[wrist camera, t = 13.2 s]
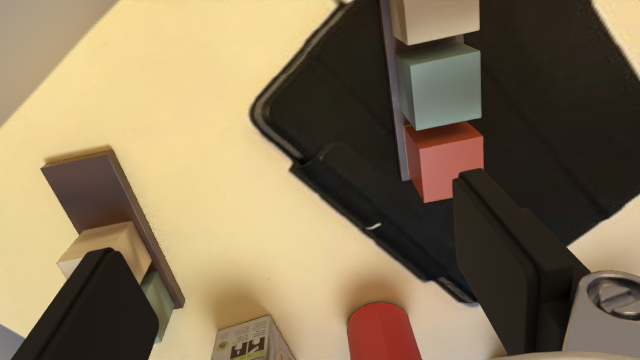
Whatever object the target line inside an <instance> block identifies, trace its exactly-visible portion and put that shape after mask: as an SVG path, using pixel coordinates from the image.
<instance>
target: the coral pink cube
mask: <svg viewBox="0 0 640 360" xmlns="http://www.w3.org/2000/svg"><path fill="white" fill-rule="evenodd" d="M404 131H405V140H406V149H407V158H408V167H409V176H410V178H411V180H412V182H413V183H414V185H415V187H416V189H417V191H418V193H419V194H420V196H421V198H422V200H423V202H424V203H427V202H432V201H437V200H442V199H447V198H452V197H453V193H452V180H453V179H455V178H458V174H459V172H462V171H467V170H472V169H476V168H482V169H483V136H482V135H481V134H480V133H479V132H478V131H476V130H475V129H474V128H473V127H472V126H471V125H470V124H469V123H467V122H466V121H461V122H456V123H452V124H447V125H442V126H437V127H432V128H427V129H423V130H418V131H416V130H415V128H414V127H413V126H409V127H405V128H404Z"/></svg>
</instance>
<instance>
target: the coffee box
mask: <svg viewBox="0 0 640 360" xmlns="http://www.w3.org/2000/svg"><path fill="white" fill-rule="evenodd" d="M211 360H295V359H294V357H293V355H292V353H291V352H290V350H289V348H288V346H287V344H286V343H285V341H284V339H283V337H282V335H281V334H280V332H279V330H278V329H277V327H276V325H275V323H274V321H273V320H272V318H271V316H264V317H261V318H258V319H255V320H251V321H248V322H245V323H242V324H239V325H235V326H232V327H229V328H226V329H222V330H219V331H218V332H217V335H216V340H215V344H214V348H213V353H212V357H211Z"/></svg>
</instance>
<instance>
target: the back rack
mask: <svg viewBox="0 0 640 360" xmlns="http://www.w3.org/2000/svg"><path fill="white" fill-rule="evenodd" d="M40 169H41V171H42V173H43V174H44V176H45V178H46V180H47V181H48V183H49V185H50V186H51V188H52V190H53V192H54V193H55V195H56V197H57V198H58V200H59V202H60V203H61V205H62V207H63V209H64V210H65V212H66V214H67V215H68V217H69V219H70V220H71V222H72V224H73V226H74V227H75V229H76V231H77V232H78V234H79V236H78V238H77V239H76V240H75V241H74V242H73V243H72V245H71V246H70V247H69V248H68V249H67V251H66V252H65V253H64V254H63V255H62V257H61V258H60V259H59V260H58V261H57V265H58V267H59V268H60V270H61V271H62V273H63V274H64V276H65V277H66V279H67V280H68V278H69V277H70V275H71V274H72V272H73V271H74V270H75V268H76V267H77V265H78V264H79V263H80V261H81V260H82V258H83V257H84V255H85V254H86V253H87V252H89V251H93V250H97V249H102V248H107V247H111V248H113V249H114V250H115V251H120V252H121V253H122V255H123V256H124V258H125V260H126V262H127V263H128V265H129V267H130V269H131V271H132V272H133V274H134V276H135V278H136V279H137V281H138V283H139V285H140V286H141V288H142V290H143V292H144V294H145V295H146V297H147V299H148V301H149V302H150V304H151V306H152V308H153V309H154V311H155V313H156V315H157V317H158V319H159V331H158V334H157V337H156V339H155V342H154V344H155V343H160V342H161V341H162V338H163V336H164V333H165V330H166V328H167V325H168V322H169V320H170V317H171V314H172V312H173V310H174V309H179V308H183V306H184V303H185V299H184V297H183V295H182V293H181V291H180V289H179V287H178V285H177V282H176V280H175V278H174V276H173V274H172V272H171V270H170V268H169V266H168V264H167V262H166V260H165V258H164V255H163V253H162V251H161V249H160V247H159V245H158V243H157V241H156V239H155V237H154V235H153V233H152V231H151V229H150V226H149V224H148V222H147V220H146V218H145V216H144V214H143V212H142V210H141V208H140V206H139V204H138V202H137V199H136V197H135V195H134V193H133V191H132V189H131V187H130V185H129V183H128V181H127V179H126V177H125V175H124V172H123V170H122V168H121V166H120V164H119V162H118V160H117V158H116V156H115V154H114V152H113V150H108V151H104V152H99V153H94V154H89V155H85V156H80V157H75V158H71V159H66V160H61V161H57V162H52V163H47V164H46V165H44V166H43V167H42V168H40Z"/></svg>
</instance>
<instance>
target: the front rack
mask: <svg viewBox="0 0 640 360" xmlns="http://www.w3.org/2000/svg"><path fill="white" fill-rule="evenodd" d="M377 2H378V10H379V18H380V26H381V34H382V42H383V50H384V58H385V66H386V74H387V82H388V90H389V98H390V106H391V114H392V122H393V130H394V138H395V146H396V154H397V162H398V170H399V176H400V178H401V180H402V181H406V180H411V178H410V176H409V167H408V158H407V149H406V140H405V131H404V128H405V127H409V126H413V127H414V128H415V130H416V131H418V130H423V129H427V128H432V127H437V126H442V125H447V124H452V123H456V122H461V121H466V122H467V120H471V119H476V118H481V75H480V51H479V50H477V49H474V48H472V47H470V46H467V45H465V44H464V33H469V32H474V31H478V30H479V0H377Z"/></svg>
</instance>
